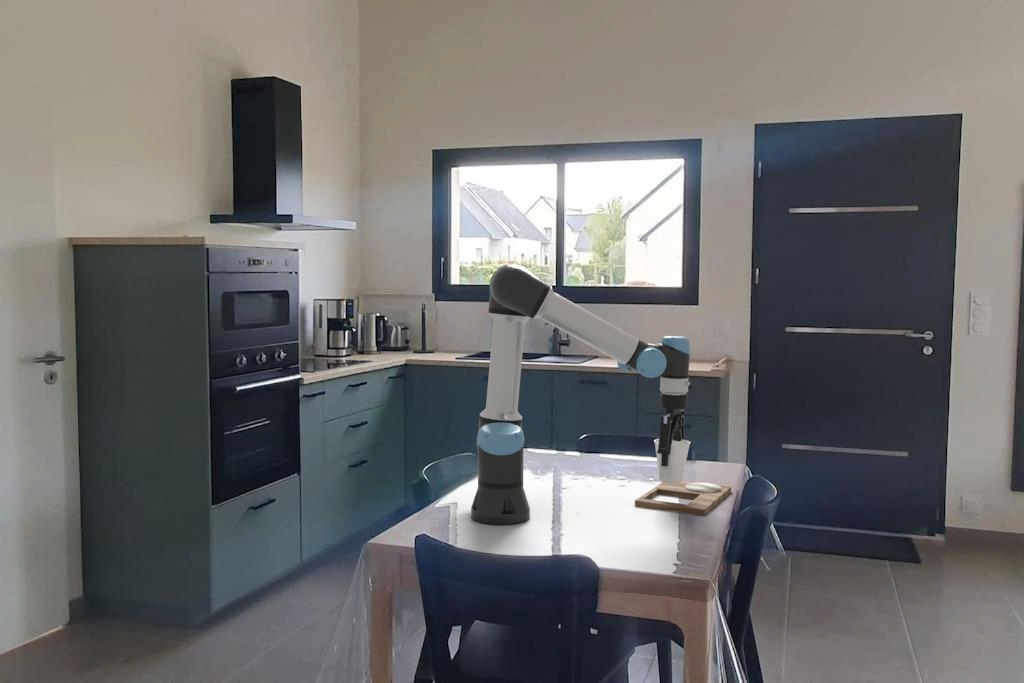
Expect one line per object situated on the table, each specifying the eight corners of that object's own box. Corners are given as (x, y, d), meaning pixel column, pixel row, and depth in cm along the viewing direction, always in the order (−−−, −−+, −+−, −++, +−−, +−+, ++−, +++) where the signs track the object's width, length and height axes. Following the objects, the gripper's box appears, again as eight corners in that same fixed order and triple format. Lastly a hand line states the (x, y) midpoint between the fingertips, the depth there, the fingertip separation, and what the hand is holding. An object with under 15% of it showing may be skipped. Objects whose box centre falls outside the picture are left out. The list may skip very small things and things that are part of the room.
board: (704, 515, 227) (704, 507, 227) (634, 505, 236) (634, 498, 236) (731, 491, 252) (731, 485, 252) (667, 484, 261) (667, 477, 261)
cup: (651, 483, 236) (653, 443, 235) (653, 475, 246) (654, 437, 245) (689, 486, 234) (690, 445, 233) (689, 478, 244) (690, 439, 243)
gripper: (675, 398, 227) (671, 484, 228) (699, 389, 246) (695, 468, 248) (647, 396, 230) (644, 480, 232) (673, 387, 250) (670, 465, 251)
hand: (670, 474), depth 240 cm, fingers closed on cup, 9 cm apart
